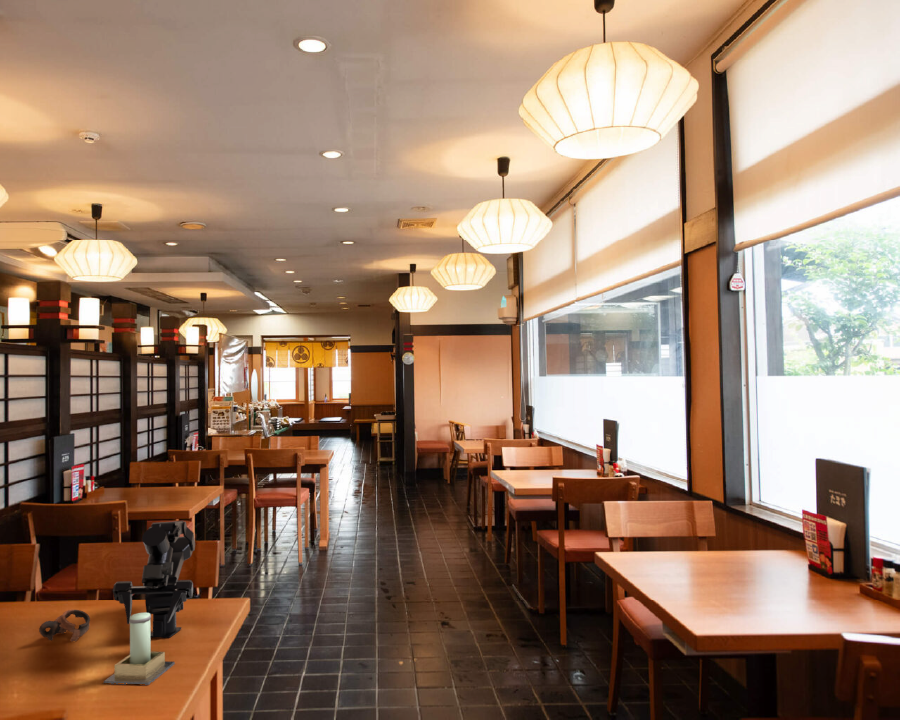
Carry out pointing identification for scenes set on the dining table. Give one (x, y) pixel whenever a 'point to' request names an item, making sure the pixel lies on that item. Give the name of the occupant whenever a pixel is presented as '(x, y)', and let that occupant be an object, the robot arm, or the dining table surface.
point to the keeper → (140, 670)
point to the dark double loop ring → (65, 625)
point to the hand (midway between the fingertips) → (148, 622)
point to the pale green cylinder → (140, 638)
